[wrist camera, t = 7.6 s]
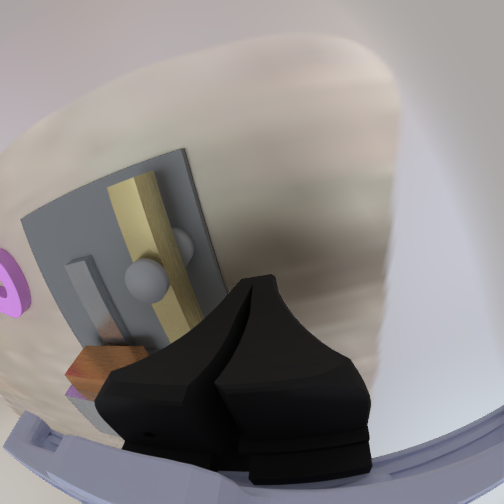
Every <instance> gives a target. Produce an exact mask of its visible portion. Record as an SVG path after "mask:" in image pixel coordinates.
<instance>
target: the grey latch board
mask: <svg viewBox="0 0 504 504" xmlns="http://www.w3.org/2000/svg"><path fill="white" fill-rule="evenodd" d="M153 170H154V173H155V177H156V180H157V184H158V187H159V190H160V194H161V197H162V200H163V204H164V207H165V210H166V213H167V216H168V219H169V222H170V225H171V228H172V231H173V234H174V237H175V240H176V243H177V246H178V249H179V252H180V255H181V258H182V261H183V263H184V266H185V269H186V272H187V274H188V277H189V280H190V282H191V285H192V288H193V290H194V293H195V296H196V298H197V301H198V303H199V306H200V309H201V311H202V314H203V316H204V318H205V317H206V316H207V315H209V314H210V313H211V312H212V311H213V310H214V309H215V308H216V307H217V306H218V305H219V304H220V303H221V301H222V300H223V299H224V298H225V297H226V296H227V292H226V289H225V286H224V283H223V280H222V277H221V273H220V270H219V267H218V264H217V261H216V257H215V254H214V251H213V248H212V244H211V241H210V238H209V235H208V231H207V228H206V225H205V221H204V218H203V214H202V211H201V207H200V204H199V201H198V197H197V194H196V190H195V186H194V183H193V179H192V176H191V172H190V168H189V165H188V161H187V157H186V154H185V150H184V148H183V149H179V150H176V151H173V152H170V153H167V154H164V155H161V156H158V157H155V158H152V159H150V160H147V161H144V162H141V163H139V164H136V165H133V166H131V167H128V168H126V169H123V170H120V171H118V172H116V173H113V174H111V175H108V176H106V177H104V178H101V179H99V180H97V181H94V182H92V183H90V184H88V185H85V186H83V187H81V188H79V189H77V190H75V191H73V192H71V193H68V194H66V195H64V196H62V197H60V198H58V199H56V200H54V201H53V202H51V203H49V204H47V205H45V206H43V207H41V208H39V209H38V210H36V211H34V212H32V213H30V214H29V215H27V216H25V217H23V218H22V219H20V220H21V223H22V226H23V228H24V231H25V234H26V237H27V239H28V242H29V245H30V247H31V250H32V252H33V255H34V257H35V259H36V262H37V264H38V266H39V269H40V271H41V273H42V275H43V277H44V279H45V282H46V284H47V286H48V288H49V290H50V292H51V294H52V296H53V298H54V300H55V301H56V303H57V305H58V307H59V309H60V311H61V313H62V314H63V316H64V318H65V320H66V321H67V323H68V325H69V326H70V328H71V330H72V331H73V333H74V335H75V336H76V338H77V339H78V341H79V343H80V344H81V346H82V347H83V348H84V347H85V346H86V345H88V346H107V345H106V344H105V342H104V341H103V339H102V337H101V336H100V334H99V332H98V331H97V329H96V327H95V326H94V324H93V322H92V320H91V318H90V317H89V315H88V313H87V311H86V309H85V308H84V306H83V304H82V302H81V300H80V298H79V296H78V294H77V292H76V290H75V288H74V286H73V284H72V282H71V280H70V278H69V275H68V273H67V271H66V269H65V267H64V265H66V264H67V263H68V262H70V261H71V260H74V259H78V258H82V257H86V256H89V255H92V257H93V259H94V262H95V264H96V266H97V269H98V271H99V273H100V275H101V278H102V280H103V282H104V284H105V286H106V288H107V290H108V293H109V295H110V297H111V299H112V301H113V303H114V305H115V307H116V309H117V311H118V312H119V314H120V316H121V318H122V320H123V322H124V324H125V326H126V327H127V329H128V331H129V333H130V335H131V336H132V338H133V340H134V342H135V343H136V345H137V346H144V348H145V349H163V348H165V347H166V346H168V345H169V344H171V343H170V341H169V339H168V337H167V335H166V333H165V331H164V329H163V327H162V325H161V323H160V321H159V319H158V317H157V315H156V313H155V311H154V309H153V306H152V304H151V303H157V302H159V301H160V300H162V299H163V297H164V296H165V294H166V292H167V291H168V289H169V284H170V282H169V277H168V274H167V272H166V271H165V269H164V268H163V267H162V266H161V265H160V264H159V263H157V262H156V261H154V260H152V259H148V258H141V259H138V260H136V261H135V262H134V263H133V261H132V258H131V256H130V253H129V251H128V248H127V245H126V243H125V240H124V237H123V235H122V232H121V229H120V226H119V224H118V221H117V218H116V215H115V212H114V209H113V206H112V203H111V200H110V197H109V194H108V190H107V187H110V186H112V185H115V184H117V183H120V182H122V181H125V180H128V179H130V178H133V177H136V176H139V175H141V174H144V173H147V172H150V171H153Z"/></svg>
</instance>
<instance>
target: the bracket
mask: <svg viewBox="0 0 504 504" xmlns="http://www.w3.org/2000/svg"><path fill="white" fill-rule="evenodd" d="M0 280H1V281H2V283H3V285H4V286H5V288H4V287H1V286H0V312H2V313H4V314H6V315H9V316H11V317H14V318H18V317H20V316H21V315H22V314H23V313H24V312H25V311H26V310H27V309H28V308H29V306H30V303H31V297H30V291H29V287H28V284H27V282H26V279H25V277H24V275H23V273H22V271H21V269H20V267H19V266H18V264H17V263H16V261H15V260H14V259H13V257H12V256H11V255H10V254H9V253H8V252H6V251H5V250H3V249H0Z"/></svg>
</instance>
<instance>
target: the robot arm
mask: <svg viewBox="0 0 504 504" xmlns="http://www.w3.org/2000/svg"><path fill="white" fill-rule="evenodd" d="M94 403H95V408H96V410H97V412H98V414H99V415H100V416H101V417H102V419H103V420H104V421H105V422H106V423H107V424H108V425H109V426H110V427H111V428H112V429H113V430H114V431H115V432H116V433H117V434H118V435H119V436H120V437H122V438H123V439H124V440H125V442H124V445H123V447H122V449H118V448H115V447H111V446H108V445H104V444H101V443H98V442H94V441H91V440H88V439H85V438H83V437H80V436H75V435H64V434H61V433H59V432H56V431H54V430H52V429H51V428H50V427H49V426H48V425H47V424H46V423H45V422H44V421H43V420H42V419H41V418H39V417H38V416H36V415H34V414H32V413H30V412H28V411H24V413H23V414H22V416H21V417H20V419H19V421H18V422H17V424H16V425H15V427H14V429H13V430H12V432H11V434H10V435H9V437H8V439H7V440H6V442H5V444H4V446H3V448H4V449H5V450H6V451H7V452H8V453H9V454H10V455H12V456H13V457H14V458H15V459H16V460H18V461H19V462H20V463H21V464H23V465H24V466H25V467H27V468H28V469H29V470H31V471H32V472H33V473H35V474H36V475H38V476H39V477H40V478H42V479H43V480H45V481H46V482H48V483H49V484H51V485H53V486H54V487H56V488H57V489H59V490H61V491H62V492H64V493H66V494H68V495H69V496H71V497H73V498H75V499H77V500H79V501H80V502H82V504H468V503H470V502H472V501H473V500H475V499H477V498H479V497H480V496H482V495H484V494H486V493H487V492H489V491H491V490H492V489H494V488H496V487H497V486H499V485H500V484H502V483H503V482H504V405H503V406H501V407H500V408H498V409H496V410H495V411H493V412H491V413H489V414H487V415H486V416H484V417H482V418H480V419H478V420H476V421H474V422H472V423H470V424H468V425H466V426H464V427H462V428H460V429H457V430H455V431H453V432H451V433H448V434H446V435H443V436H441V437H439V438H436V439H433V440H431V441H428V442H425V443H422V444H420V445H417V446H414V447H411V448H408V449H405V450H401V451H398V452H394V453H391V454H387V455H384V456H380V457H376V458H371V453H370V447H369V439H370V438H369V431H368V426H367V424H368V419H369V414H370V408H371V400H370V395H369V392H368V390H367V387H366V385H365V383H364V381H363V379H362V377H361V375H360V374H359V372H358V370H357V369H356V367H355V366H354V364H353V363H352V361H351V360H350V359H349V358H347V357H345V356H344V355H342V354H340V353H338V352H336V351H334V350H332V349H331V348H329V347H328V346H326V345H325V344H324V343H322V342H321V341H320V340H318V339H317V338H316V337H315V336H313V335H312V334H311V333H310V332H309V331H307V330H306V329H305V328H304V327H303V326H302V325H301V324H300V322H299V321H298V320H297V319H296V318H295V317H294V315H293V314H292V313H291V312H290V310H289V309H288V307H287V306H286V304H285V303H284V301H283V299H282V298H281V296H280V294H279V292H278V287H277V283H276V278H275V276H274V275H272V274H270V275H264V276H258V277H251V278H245V279H241V280H240V281H239V282H238V284H237V285H236V286H235V287H234V288H233V289H232V290H231V291H230V293H229V294H228V295H227V296H226V297H225V298H224V299H223V300H222V301H221V303H220V304H219V305H218V306H217V307H216V308H215V309H214V310H213V311H212V312H211V313H210V314H209V315H207V316H206V317H205V318H204V319H203V320H202V321H201V322H200V323H199V324H198V325H196V326H195V327H194V328H193V329H191V330H190V331H189V332H187V333H186V334H185V335H183V336H182V337H180V338H179V339H177V340H176V341H174V342H173V343H171V344H169V345H168V346H166V347H165V348H163V349H161V350H159V351H158V352H156V353H154V354H152V355H150V356H148V357H146V358H144V359H142V360H139V361H137V362H135V363H132V364H130V365H127V366H124V367H122V368H119V369H116V370H113V371H111V372H110V374H109V375H108V377H107V379H106V381H105V382H104V384H103V386H102V388H101V389H100V391H99V393H98V395H97V396H96V398H95V400H94Z"/></svg>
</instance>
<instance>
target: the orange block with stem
mask: <svg viewBox="0 0 504 504" xmlns="http://www.w3.org/2000/svg"><path fill="white" fill-rule="evenodd" d="M148 356H149V355H148V353H147V351H146V350H145V348H144V346H88V345H86V346H85V347H84V348H83V350H82V351H81V353H80V354H79V355H78V357H77V358H76V359H75V361H74V362H73V364H72V365H71V366H70V368H69V369H68V371H67V372H66V373H65V376H66V377H67V378H68V380H69V381H70V382H71V384H72V385H73V386H74V387H75V388H76V389H80V390H85V391H90V392H96V393H99V391H100V389H101V388H102V386H103V384H104V382H105V381H106V379H107V377H108V375H109V374H110V372H111V371H113V370H116V369H119V368H122V367H124V366H127V365H130V364H132V363H135V362H137V361H139V360H142V359H144V358H146V357H148Z"/></svg>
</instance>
